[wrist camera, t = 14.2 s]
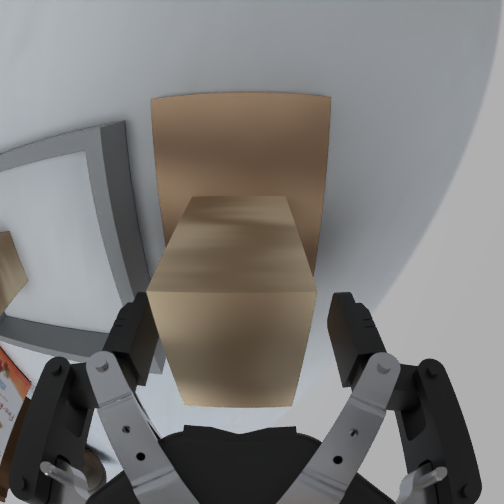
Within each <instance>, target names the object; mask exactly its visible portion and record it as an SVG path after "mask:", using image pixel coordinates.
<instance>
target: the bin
mask: <svg viewBox="0 0 504 504" xmlns="http://www.w3.org/2000/svg"><path fill="white" fill-rule="evenodd" d="M80 151H86V158H87V165H88V171H89V177H90V183H91V189H92V194H93V199H94V204H95V209H96V213H97V218H98V222H99V226H100V230H101V235H102V238H103V242H104V246H105V250H106V253H107V257H108V261H109V264H110V267H111V271H112V274H113V277H114V280H115V284H116V287H117V290H118V293H119V296H120V299H121V302H122V305H123V307H124V306H125V305H126V304H127V303H128V302H133V301H134V299H135V296H136V294H137V293H138V292H146V290H147V288H148V286H149V284H150V278H149V274H148V269H147V265H146V260H145V256H144V251H143V246H142V242H141V237H140V231H139V226H138V221H137V215H136V209H135V203H134V197H133V190H132V183H131V176H130V168H129V160H128V151H127V141H126V130H125V121H121V122H115V123H109V124H104V125H99V126H94V127H90V128H85V129H81V130H77V131H72V132H68V133H65V134H61V135H57V136H53V137H50V138H46V139H43V140H40V141H36V142H33V143H30V144H27V145H24V146H21V147H18V148H15V149H12V150H10V151H7V152H4V153H2V154H0V172H2V171H5V170H8V169H11V168H15V167H18V166H21V165H25V164H29V163H32V162H36V161H40V160H44V159H48V158H52V157H57V156H61V155H66V154H71V153H75V152H80ZM108 335H109V334H106V333H98V332H90V331H83V330H76V329H70V328H64V327H58V326H52V325H47V324H41V323H36V322H31V321H26V320H22V319H17V318H13V317H8V316H6V315H5V313H4V312H3V313H2V315H1V316H0V341H3V342H6V343H9V344H12V345H16V346H19V347H22V348H25V349H29V350H32V351H36V352H40V353H43V354H47V355H51V356H55V357H59V356H60V357H64V358H66V359H68V360H73V361H77V362H82V363H85V362H87V361H88V359H89V358H90V357H91V356H92V355H93V354H95V353H97V352H100V351H102V349H103V347H104V344H105V342H106V340H107V338H108ZM165 359H166V354H165V351H164V348H163V345H162V342H161V339H160V336H159V339H158V342H157V346H156V349H155V353H154V356H153V360H152V363H151V367H150V371H149V373H154V374H162V371H163V367H164V363H165Z"/></svg>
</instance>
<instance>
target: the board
mask: <svg viewBox="0 0 504 504" xmlns="http://www.w3.org/2000/svg"><path fill="white" fill-rule="evenodd" d="M330 112H331V97H327V96H317V95H306V94H292V93H269V92H229V93H206V94H192V95H181V96H172V97H163V98H155V99H151V115H152V131H153V144H154V156H155V166H156V176H157V185H158V194H159V201H160V209H161V216H162V223H163V230H164V237H165V243H166V247H167V245H168V243H169V241H170V239H171V237H172V235H173V233H174V231H175V229H176V227H177V225H178V223H179V221H180V219H181V217H182V215H183V213H184V211H185V209H186V207H187V205H188V203H189V201H190V199H191V198H192V197H202V196H286V199H287V202H288V205H289V208H290V210H291V213H292V216H293V219H294V222H295V225H296V228H297V231H298V233H299V236H300V239H301V242H302V245H303V248H304V251H305V254H306V257H307V261H308V264H309V267H310V270H311V273H312V276H314V270H315V263H316V256H317V249H318V242H319V234H320V226H321V218H322V209H323V200H324V191H325V180H326V170H327V158H328V145H329V130H330Z"/></svg>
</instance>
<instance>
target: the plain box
mask: <svg viewBox="0 0 504 504" xmlns="http://www.w3.org/2000/svg"><path fill="white" fill-rule="evenodd" d="M27 282H28V279H27V276H26V274H25V271H24V269H23V267H22V264H21V262H20V259H19V256H18V254H17V251H16V248H15V246H14V243H13V240H12V237H11V234H10V231H6V232H0V316H1V315H2V313H3V312H4V311H5V309H6V308H7V307H8V305H9V304H10V303H11V301H12V300H13V299H14V297H15V296H16V295H17V294H18V292H19V291H20V290H21V289H22V288H23V286H24V285H25V284H26V283H27Z"/></svg>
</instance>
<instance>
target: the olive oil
mask: <svg viewBox="0 0 504 504" xmlns="http://www.w3.org/2000/svg"><path fill="white" fill-rule="evenodd" d="M30 401H31V400H30V399H28V398H27V397H25V399H24V401H23V404H22V406H21V408H20V411H19V413H18V416H17V418H16V421H15V423H14V426H13V428H12V431H11V434H10V436H9V439H8V442H7V445H6V448H5V451H4V454H3V457H2V460H1V464H0V501H1V502H5V498H6V497H7V492H8V489H9V488H10V487H9V482H8V478H9V473H10V468H11V464H12V460H13V456H14V452H15V448H16V445H17V441H18V438H19V434H20V431H21V428H22V425H23V422H24V419H25V416H26V413H27V410H28V407H29V404H30Z"/></svg>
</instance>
